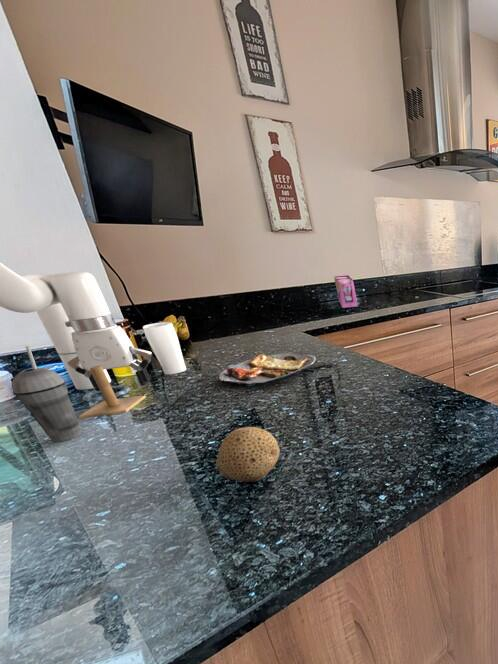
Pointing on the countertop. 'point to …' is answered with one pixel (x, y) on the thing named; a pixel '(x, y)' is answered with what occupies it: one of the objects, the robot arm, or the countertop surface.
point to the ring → (89, 399)
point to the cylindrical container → (64, 342)
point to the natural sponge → (247, 454)
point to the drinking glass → (165, 346)
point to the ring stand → (109, 397)
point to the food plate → (266, 368)
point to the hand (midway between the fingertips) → (124, 386)
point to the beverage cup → (47, 401)
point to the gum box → (345, 291)
